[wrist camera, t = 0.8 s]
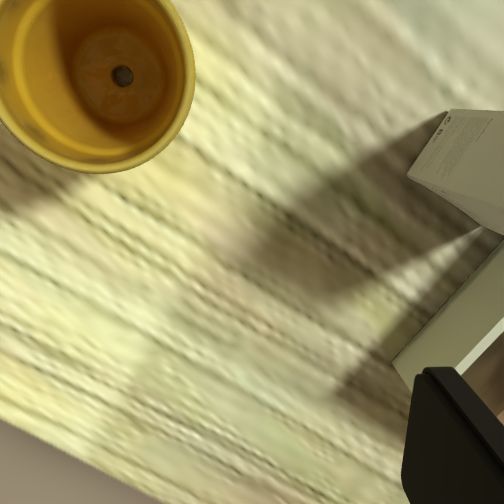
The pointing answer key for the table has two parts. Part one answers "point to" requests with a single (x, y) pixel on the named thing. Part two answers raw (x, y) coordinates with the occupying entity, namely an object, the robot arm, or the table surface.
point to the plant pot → (94, 80)
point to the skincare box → (467, 165)
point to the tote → (460, 324)
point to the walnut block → (489, 377)
